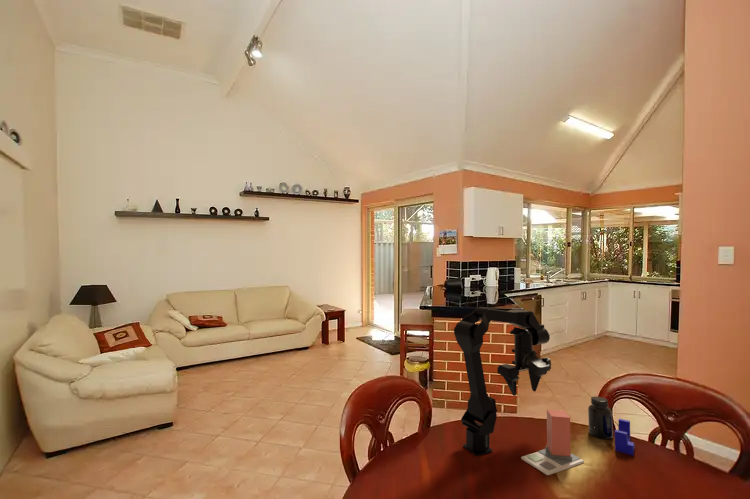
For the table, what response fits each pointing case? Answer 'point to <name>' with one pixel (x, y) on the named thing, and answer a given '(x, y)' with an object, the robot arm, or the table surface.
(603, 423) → the supplement bottle
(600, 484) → the table surface
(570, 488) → the table surface
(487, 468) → the table surface
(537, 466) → the panel board
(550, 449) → the salmon block on plinth
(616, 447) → the blue cradle bracket
